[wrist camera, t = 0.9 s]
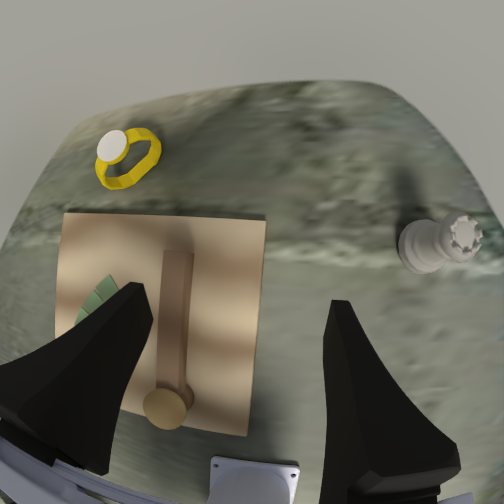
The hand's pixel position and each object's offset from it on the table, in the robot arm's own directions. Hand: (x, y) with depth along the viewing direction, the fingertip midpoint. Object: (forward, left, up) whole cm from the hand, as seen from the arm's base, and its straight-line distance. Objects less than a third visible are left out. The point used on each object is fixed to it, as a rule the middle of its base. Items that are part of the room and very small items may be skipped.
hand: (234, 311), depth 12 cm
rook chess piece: (+5, -13, -13) cm, 19 cm away
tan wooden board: (-3, +10, -13) cm, 17 cm away
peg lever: (-4, +6, -12) cm, 14 cm away
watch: (+10, +12, -13) cm, 21 cm away
